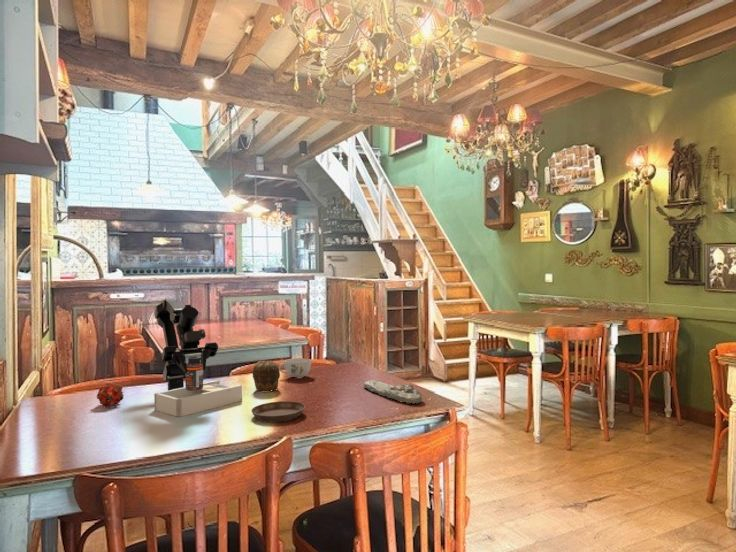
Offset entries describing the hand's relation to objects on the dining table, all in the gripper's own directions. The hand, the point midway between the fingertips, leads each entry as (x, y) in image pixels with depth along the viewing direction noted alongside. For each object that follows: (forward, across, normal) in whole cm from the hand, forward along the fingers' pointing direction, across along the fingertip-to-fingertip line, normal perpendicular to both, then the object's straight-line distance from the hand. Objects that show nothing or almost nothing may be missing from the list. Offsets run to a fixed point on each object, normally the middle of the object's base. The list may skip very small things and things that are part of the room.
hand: (195, 371), depth 175 cm
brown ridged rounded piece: (+1, +32, +19) cm, 37 cm away
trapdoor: (+3, +8, +13) cm, 16 cm away
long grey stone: (+28, +67, -8) cm, 73 cm away
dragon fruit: (-8, -23, +29) cm, 38 cm away
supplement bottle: (+4, 0, +6) cm, 7 cm away
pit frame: (+6, +3, +14) cm, 15 cm away
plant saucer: (+27, +20, -8) cm, 35 cm away
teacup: (-9, +53, +30) cm, 61 cm away
